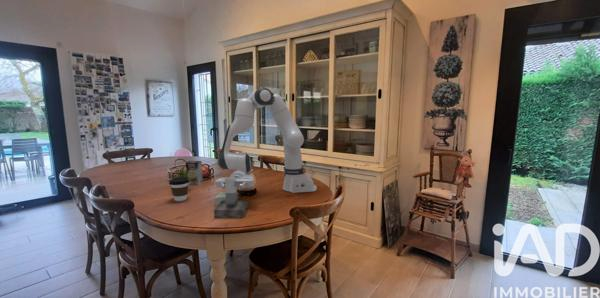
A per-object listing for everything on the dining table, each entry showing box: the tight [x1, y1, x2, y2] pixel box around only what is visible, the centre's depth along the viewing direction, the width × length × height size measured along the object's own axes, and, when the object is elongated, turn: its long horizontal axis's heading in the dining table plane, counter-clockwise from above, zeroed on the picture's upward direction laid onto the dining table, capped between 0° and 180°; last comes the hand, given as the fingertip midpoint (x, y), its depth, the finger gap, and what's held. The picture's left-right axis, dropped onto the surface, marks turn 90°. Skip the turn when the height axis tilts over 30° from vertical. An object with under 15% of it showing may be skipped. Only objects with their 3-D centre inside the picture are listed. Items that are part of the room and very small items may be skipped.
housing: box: [224, 176, 238, 207], centre depth 141 cm, size 5×5×14 cm
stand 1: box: [214, 191, 226, 206], centre depth 159 cm, size 10×10×4 cm
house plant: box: [172, 166, 191, 192], centre depth 180 cm, size 14×14×16 cm
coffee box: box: [185, 160, 203, 186], centre depth 196 cm, size 9×6×16 cm
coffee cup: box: [168, 177, 189, 202], centre depth 163 cm, size 11×11×12 cm
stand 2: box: [213, 199, 249, 219], centre depth 143 cm, size 14×14×4 cm
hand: (231, 186), depth 142 cm, fingers open, 8 cm apart
